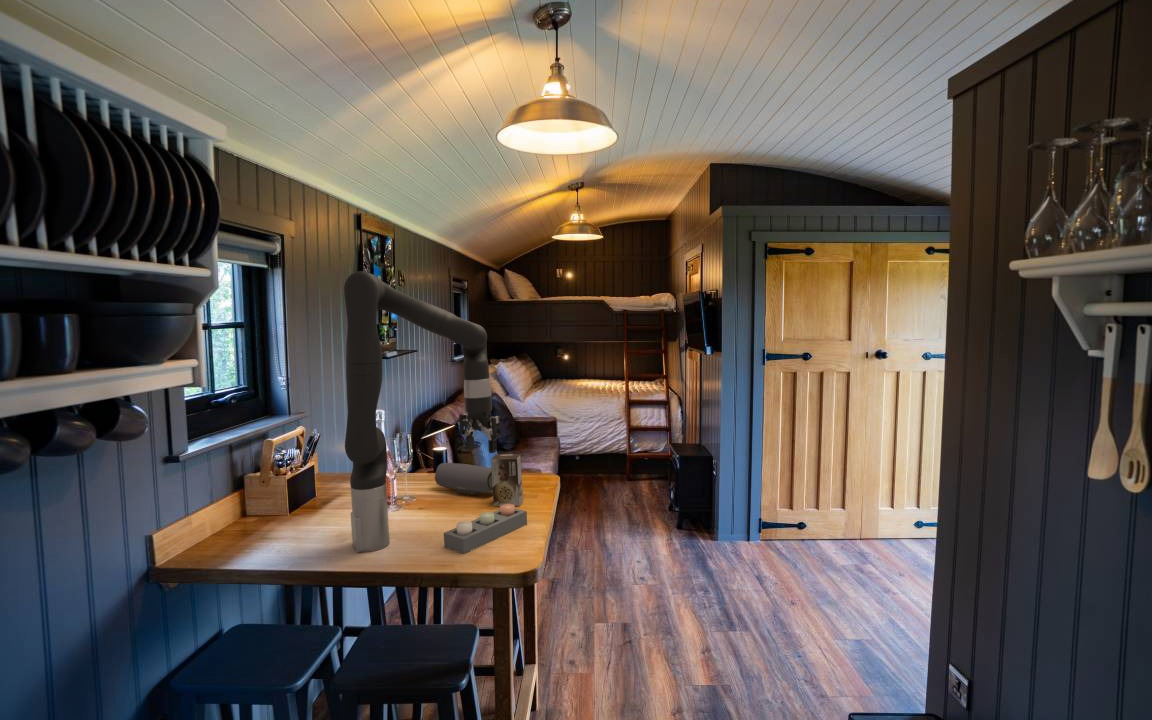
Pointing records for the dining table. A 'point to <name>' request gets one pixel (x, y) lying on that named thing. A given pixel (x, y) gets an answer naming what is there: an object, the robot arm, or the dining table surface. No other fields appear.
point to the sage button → (486, 518)
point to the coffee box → (507, 479)
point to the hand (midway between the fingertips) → (481, 451)
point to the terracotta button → (507, 509)
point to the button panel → (485, 531)
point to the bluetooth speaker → (465, 478)
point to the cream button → (464, 528)
